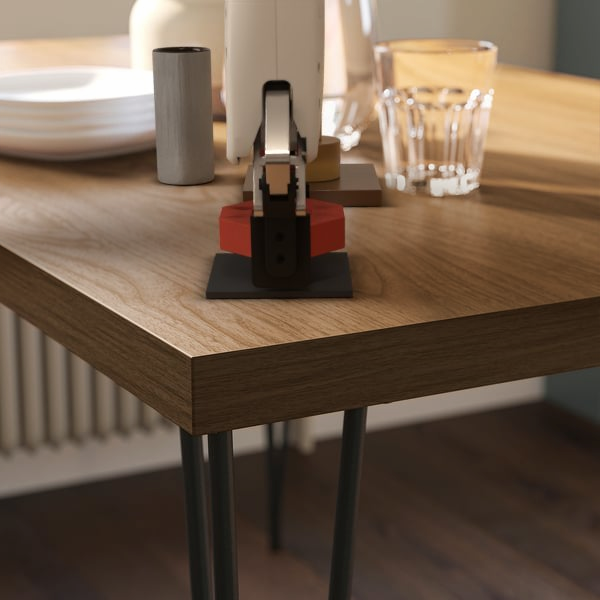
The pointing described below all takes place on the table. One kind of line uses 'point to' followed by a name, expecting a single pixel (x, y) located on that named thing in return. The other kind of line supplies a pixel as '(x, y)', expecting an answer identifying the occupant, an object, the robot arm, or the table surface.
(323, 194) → the ring holder
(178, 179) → the planter
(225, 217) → the ring
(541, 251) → the table surface
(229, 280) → the mat
